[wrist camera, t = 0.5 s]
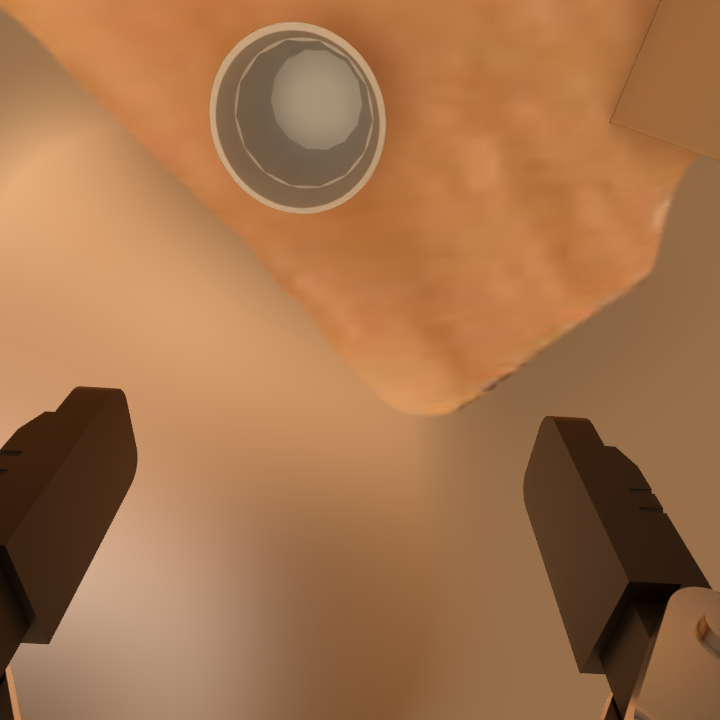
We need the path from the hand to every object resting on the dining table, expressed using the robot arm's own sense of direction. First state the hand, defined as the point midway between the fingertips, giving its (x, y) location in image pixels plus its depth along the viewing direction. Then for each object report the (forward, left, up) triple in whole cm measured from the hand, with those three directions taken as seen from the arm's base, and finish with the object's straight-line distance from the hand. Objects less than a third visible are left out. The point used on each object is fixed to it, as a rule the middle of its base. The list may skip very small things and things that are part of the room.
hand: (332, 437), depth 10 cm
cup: (-3, -3, -30) cm, 30 cm away
